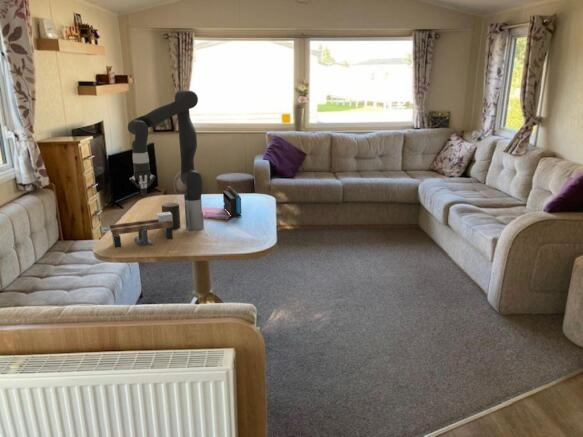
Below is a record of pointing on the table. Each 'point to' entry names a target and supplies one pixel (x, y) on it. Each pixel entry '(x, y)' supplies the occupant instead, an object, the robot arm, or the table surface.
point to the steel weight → (164, 217)
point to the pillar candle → (173, 213)
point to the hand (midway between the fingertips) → (144, 195)
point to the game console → (232, 202)
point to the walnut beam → (138, 226)
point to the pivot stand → (142, 237)
